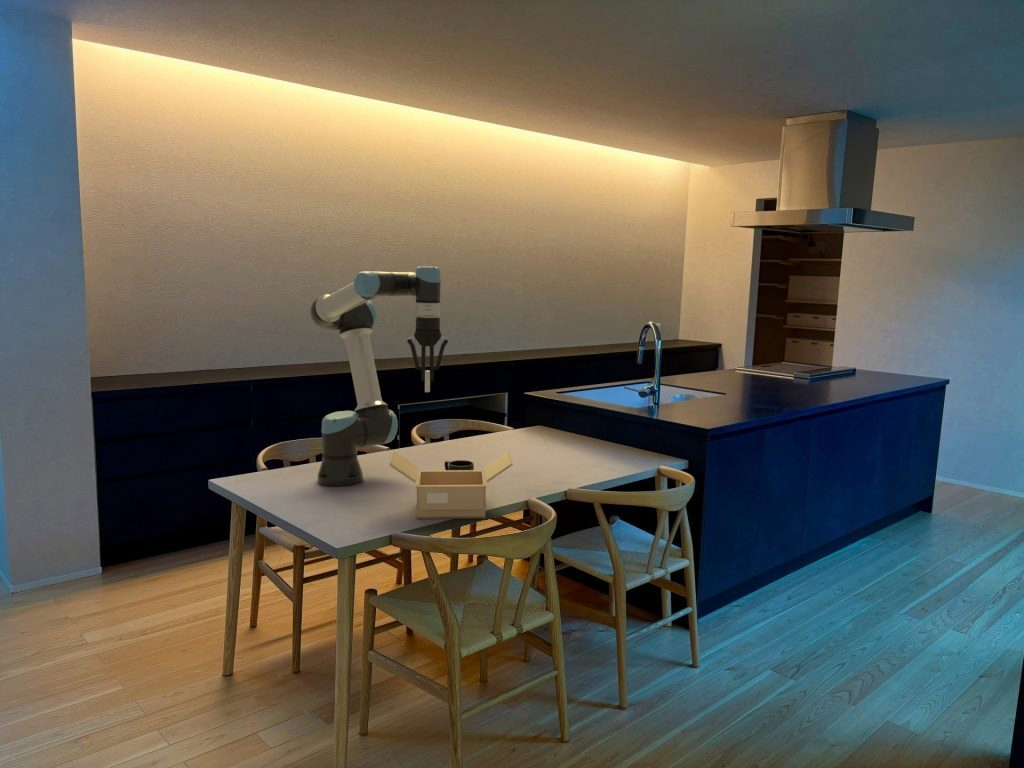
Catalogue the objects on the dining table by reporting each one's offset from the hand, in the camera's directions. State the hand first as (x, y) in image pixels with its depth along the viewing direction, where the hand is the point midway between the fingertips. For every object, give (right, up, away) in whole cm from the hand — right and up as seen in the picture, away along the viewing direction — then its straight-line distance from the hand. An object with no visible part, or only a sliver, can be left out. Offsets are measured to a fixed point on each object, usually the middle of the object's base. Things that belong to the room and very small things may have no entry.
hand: (427, 391), depth 231 cm
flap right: (+18, -26, -10) cm, 33 cm away
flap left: (-1, -25, -11) cm, 28 cm away
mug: (+9, -33, +12) cm, 36 cm away
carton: (+8, -36, -9) cm, 38 cm away
